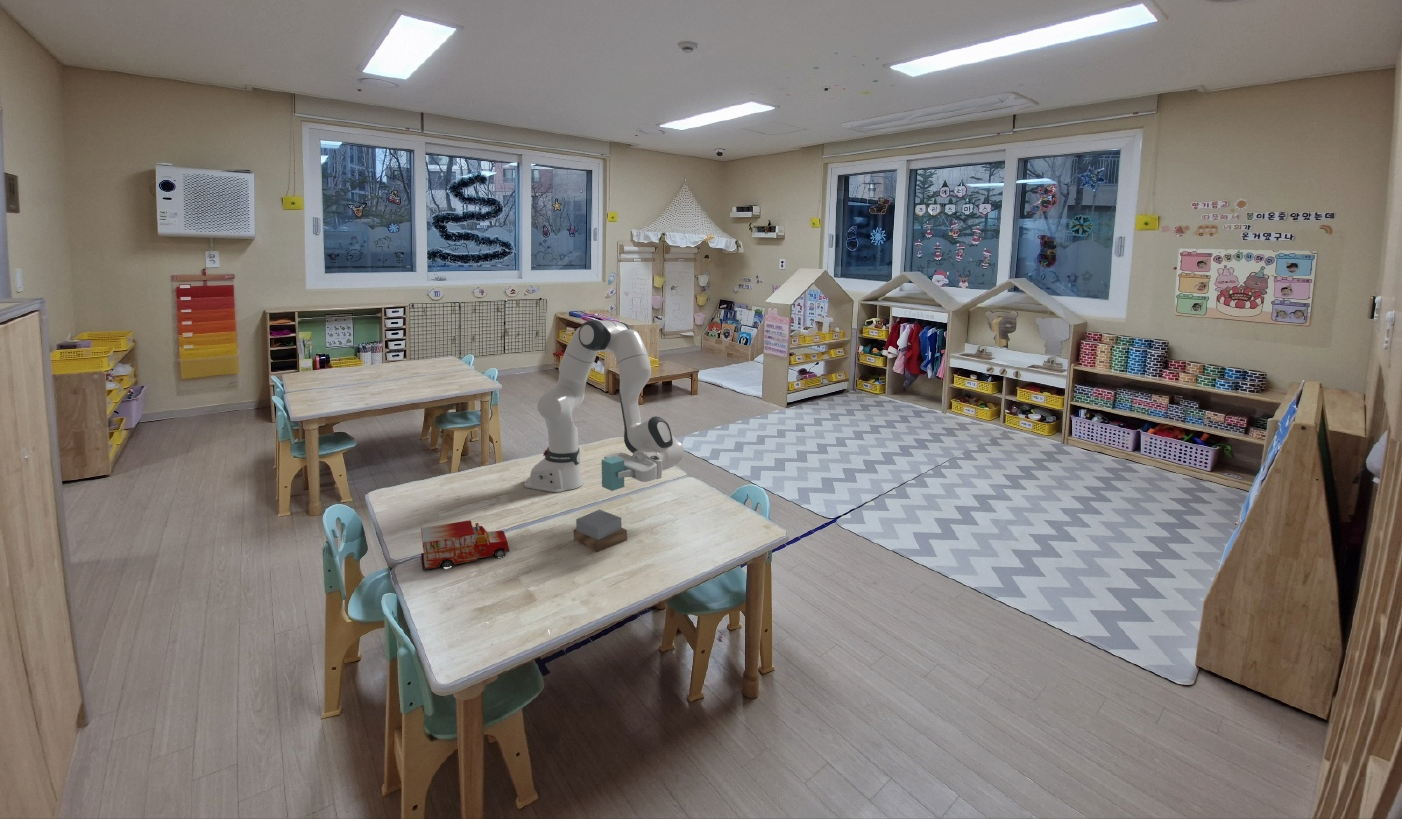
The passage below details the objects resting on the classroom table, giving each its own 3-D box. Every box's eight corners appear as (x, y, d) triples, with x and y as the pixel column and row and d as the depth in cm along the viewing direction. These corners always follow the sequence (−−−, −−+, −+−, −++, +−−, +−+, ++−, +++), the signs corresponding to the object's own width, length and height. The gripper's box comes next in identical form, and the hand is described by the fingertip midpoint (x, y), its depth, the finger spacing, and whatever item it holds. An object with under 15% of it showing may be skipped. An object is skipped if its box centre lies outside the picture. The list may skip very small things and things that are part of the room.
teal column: (601, 486, 211) (601, 459, 208) (614, 482, 214) (614, 456, 212) (611, 491, 207) (611, 463, 205) (624, 486, 211) (624, 460, 208)
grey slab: (576, 530, 211) (576, 519, 210) (599, 520, 218) (599, 509, 217) (598, 540, 205) (598, 528, 204) (621, 529, 212) (621, 517, 211)
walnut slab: (573, 541, 213) (573, 529, 212) (603, 529, 221) (603, 518, 220) (596, 553, 205) (596, 541, 204) (627, 541, 213) (626, 530, 212)
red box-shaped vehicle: (511, 558, 200) (509, 527, 198) (422, 574, 190) (419, 542, 188) (505, 543, 210) (503, 513, 207) (421, 557, 200) (418, 526, 197)
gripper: (623, 445, 224) (590, 454, 215) (664, 461, 211) (631, 471, 201) (623, 463, 226) (590, 473, 217) (664, 479, 213) (631, 491, 203)
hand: (610, 472), depth 209 cm, fingers closed on teal column, 5 cm apart
